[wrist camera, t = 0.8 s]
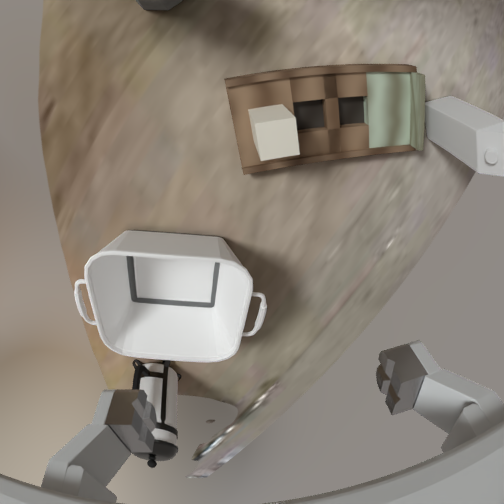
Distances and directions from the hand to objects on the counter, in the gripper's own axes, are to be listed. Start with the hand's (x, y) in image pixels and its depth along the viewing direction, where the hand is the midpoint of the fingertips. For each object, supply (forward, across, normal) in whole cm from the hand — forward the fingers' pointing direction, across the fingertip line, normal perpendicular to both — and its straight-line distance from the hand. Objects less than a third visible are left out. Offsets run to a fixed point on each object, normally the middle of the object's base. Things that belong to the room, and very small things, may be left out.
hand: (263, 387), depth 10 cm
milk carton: (+42, -38, -6) cm, 57 cm away
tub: (+48, +15, +19) cm, 54 cm away
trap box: (+42, -16, -7) cm, 46 cm away
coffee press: (+56, +31, +52) cm, 82 cm away
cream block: (+40, -6, -6) cm, 41 cm away
